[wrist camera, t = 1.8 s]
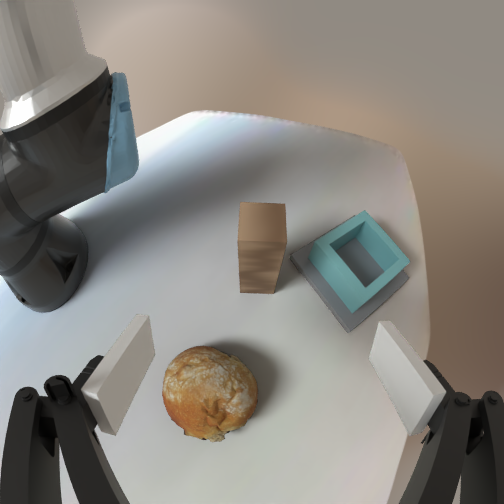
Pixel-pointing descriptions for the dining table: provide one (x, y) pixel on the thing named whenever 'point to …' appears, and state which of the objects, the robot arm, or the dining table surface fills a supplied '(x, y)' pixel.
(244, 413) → the bread roll
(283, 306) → the dining table surface
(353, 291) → the teal square socket
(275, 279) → the walnut post
